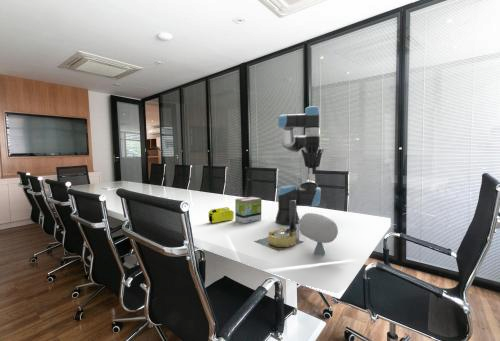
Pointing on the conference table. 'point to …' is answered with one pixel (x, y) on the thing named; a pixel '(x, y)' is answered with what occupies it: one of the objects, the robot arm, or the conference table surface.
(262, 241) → the plate
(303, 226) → the grey oval on stand
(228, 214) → the yellow toy chassis
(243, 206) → the tea box
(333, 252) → the conference table surface
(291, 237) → the tan base with handle
